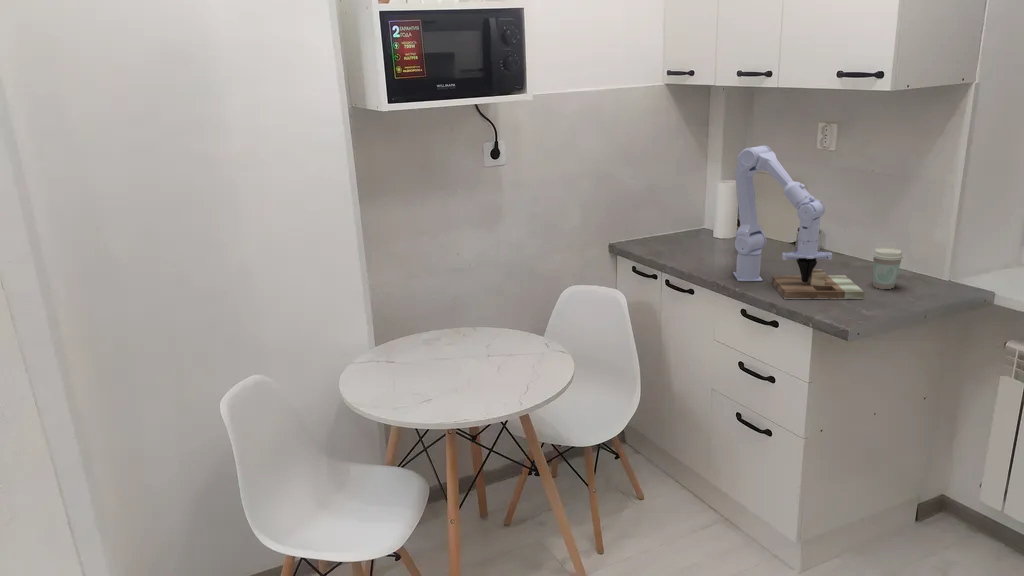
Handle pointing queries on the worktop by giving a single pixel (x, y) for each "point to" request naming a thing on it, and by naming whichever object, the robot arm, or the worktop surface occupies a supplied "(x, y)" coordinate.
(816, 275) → the beech block
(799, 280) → the board
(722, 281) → the worktop surface
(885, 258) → the coffee cup
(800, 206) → the robot arm
